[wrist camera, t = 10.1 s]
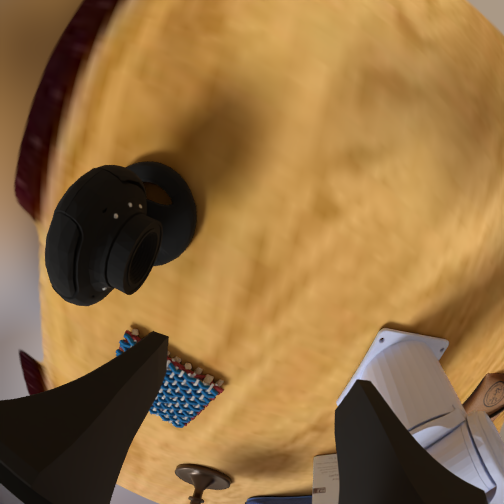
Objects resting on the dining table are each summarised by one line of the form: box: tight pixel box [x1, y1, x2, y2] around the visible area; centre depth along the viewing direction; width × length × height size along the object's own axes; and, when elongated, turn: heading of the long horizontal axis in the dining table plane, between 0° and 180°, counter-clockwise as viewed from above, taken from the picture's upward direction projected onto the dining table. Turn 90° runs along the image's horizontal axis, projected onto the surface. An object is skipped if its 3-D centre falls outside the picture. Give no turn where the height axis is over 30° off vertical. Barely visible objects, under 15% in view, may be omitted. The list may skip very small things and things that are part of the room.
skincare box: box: [312, 454, 339, 504], centre depth 21 cm, size 6×4×12 cm
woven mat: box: [116, 329, 224, 428], centre depth 24 cm, size 10×11×2 cm
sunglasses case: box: [462, 373, 504, 422], centre depth 22 cm, size 18×7×7 cm, turn 162°
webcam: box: [45, 162, 196, 306], centre depth 14 cm, size 8×8×10 cm
